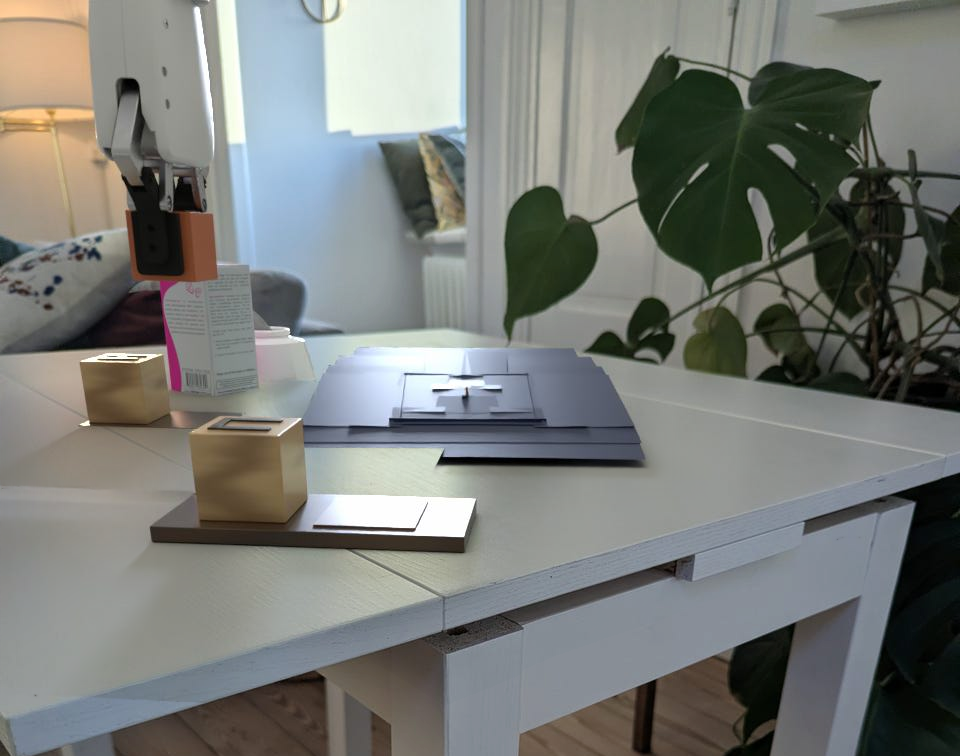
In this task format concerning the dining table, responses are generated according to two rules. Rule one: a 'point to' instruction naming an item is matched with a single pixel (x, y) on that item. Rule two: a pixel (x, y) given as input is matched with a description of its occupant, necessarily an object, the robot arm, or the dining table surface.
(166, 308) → the supplement box
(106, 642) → the dining table surface
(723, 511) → the dining table surface
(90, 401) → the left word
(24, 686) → the dining table surface
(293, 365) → the white piece
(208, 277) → the orange embossed-top cube
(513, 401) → the grey stepped plate
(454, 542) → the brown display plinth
